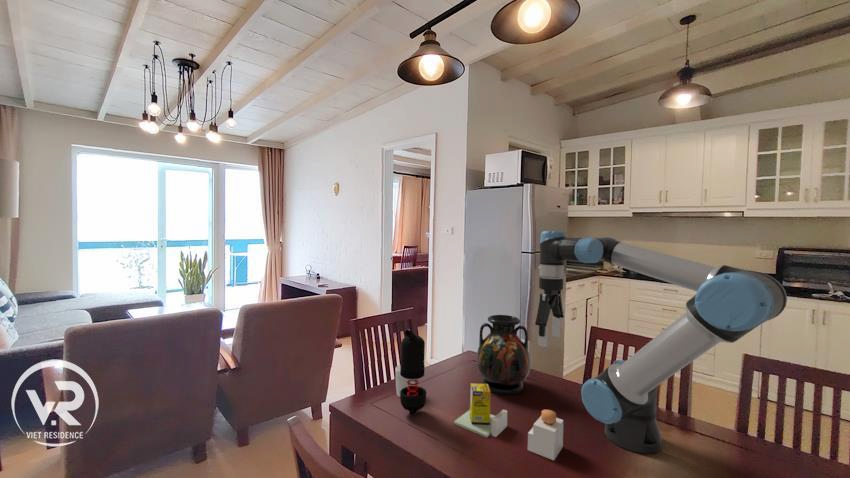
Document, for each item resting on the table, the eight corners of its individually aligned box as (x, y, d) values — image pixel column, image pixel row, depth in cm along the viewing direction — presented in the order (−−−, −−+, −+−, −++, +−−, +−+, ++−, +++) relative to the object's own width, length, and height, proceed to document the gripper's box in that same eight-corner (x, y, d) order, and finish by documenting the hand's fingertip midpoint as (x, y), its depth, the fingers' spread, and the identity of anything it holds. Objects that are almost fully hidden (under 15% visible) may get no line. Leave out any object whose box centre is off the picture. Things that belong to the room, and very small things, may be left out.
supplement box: (490, 425, 114) (490, 391, 113) (471, 424, 114) (472, 391, 113) (487, 415, 120) (488, 383, 119) (469, 415, 120) (470, 383, 119)
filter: (419, 424, 115) (420, 332, 114) (393, 418, 118) (395, 329, 118) (433, 405, 128) (434, 322, 127) (409, 400, 131) (411, 319, 130)
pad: (504, 421, 118) (504, 419, 118) (486, 437, 108) (486, 435, 108) (472, 409, 125) (472, 407, 125) (453, 424, 115) (453, 421, 115)
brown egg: (557, 434, 103) (558, 412, 103) (553, 441, 100) (553, 418, 100) (543, 429, 105) (544, 408, 105) (538, 435, 102) (539, 413, 102)
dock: (562, 446, 104) (563, 420, 104) (553, 460, 98) (554, 432, 98) (502, 424, 116) (503, 400, 115) (491, 435, 109) (492, 409, 109)
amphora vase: (473, 395, 136) (474, 322, 135) (477, 373, 157) (478, 310, 156) (531, 402, 131) (533, 327, 130) (528, 378, 152) (529, 313, 151)
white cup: (419, 392, 137) (419, 367, 137) (407, 400, 131) (408, 374, 130) (403, 387, 141) (403, 362, 141) (390, 395, 135) (391, 369, 135)
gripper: (552, 273, 130) (550, 330, 130) (525, 279, 110) (524, 347, 111) (573, 275, 125) (571, 334, 126) (550, 282, 105) (548, 353, 106)
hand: (549, 341), depth 118 cm, fingers open, 13 cm apart
